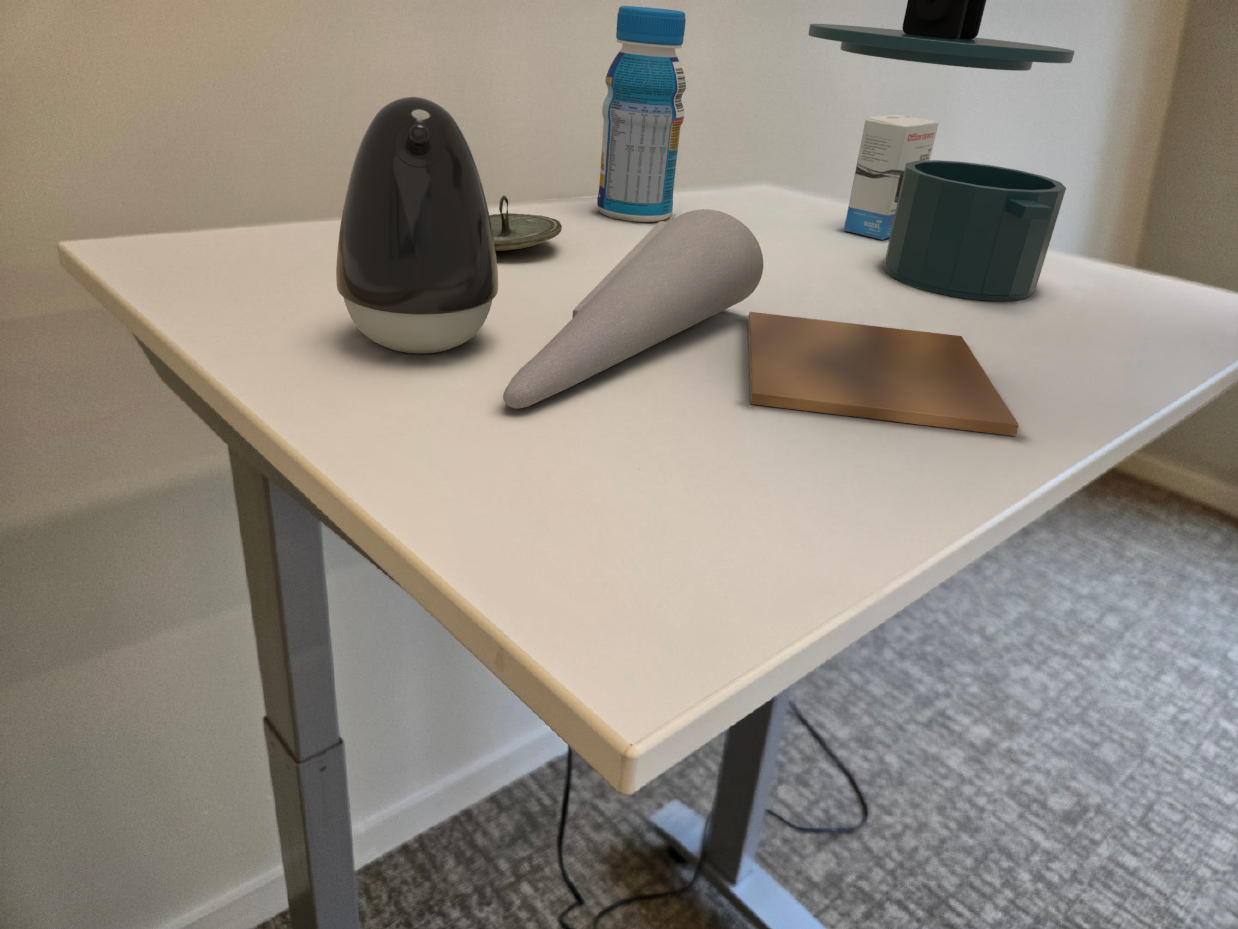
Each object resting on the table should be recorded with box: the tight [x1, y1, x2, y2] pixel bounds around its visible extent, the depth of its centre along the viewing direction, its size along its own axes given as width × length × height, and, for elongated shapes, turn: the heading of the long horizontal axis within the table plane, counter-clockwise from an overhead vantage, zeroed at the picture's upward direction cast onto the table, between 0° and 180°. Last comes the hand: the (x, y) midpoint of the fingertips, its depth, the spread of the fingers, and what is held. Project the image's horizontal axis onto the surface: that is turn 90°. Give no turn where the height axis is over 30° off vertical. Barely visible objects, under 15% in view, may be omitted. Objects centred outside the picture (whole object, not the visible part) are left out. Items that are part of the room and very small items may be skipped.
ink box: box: [843, 114, 940, 240], centre depth 100 cm, size 8×5×12 cm, turn 139°
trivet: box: [747, 311, 1020, 437], centre depth 63 cm, size 16×16×1 cm
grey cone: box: [502, 208, 764, 409], centre depth 61 cm, size 8×9×26 cm
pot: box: [883, 159, 1067, 302], centre depth 85 cm, size 14×19×10 cm
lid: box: [489, 195, 563, 252], centre depth 83 cm, size 11×10×5 cm
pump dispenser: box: [335, 96, 499, 355], centre depth 58 cm, size 10×10×15 cm
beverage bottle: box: [596, 5, 687, 223], centre depth 95 cm, size 8×8×20 cm
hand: (940, 33), depth 53 cm, fingers closed on pot lid, 2 cm apart
